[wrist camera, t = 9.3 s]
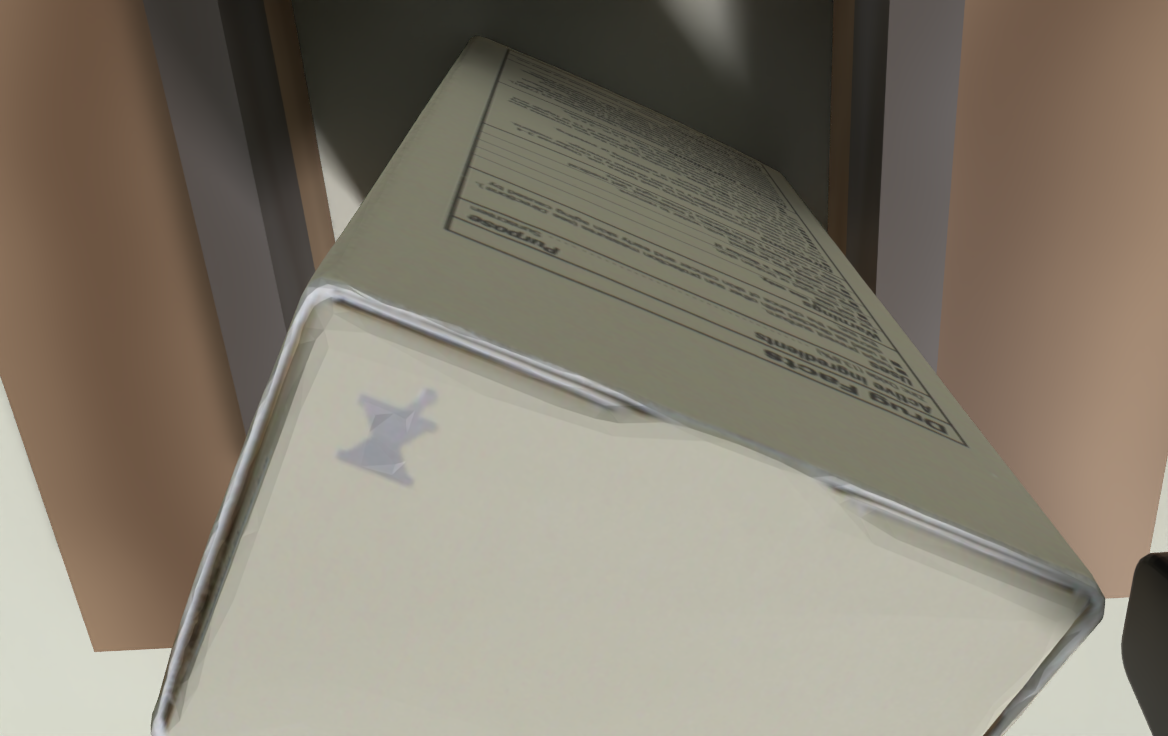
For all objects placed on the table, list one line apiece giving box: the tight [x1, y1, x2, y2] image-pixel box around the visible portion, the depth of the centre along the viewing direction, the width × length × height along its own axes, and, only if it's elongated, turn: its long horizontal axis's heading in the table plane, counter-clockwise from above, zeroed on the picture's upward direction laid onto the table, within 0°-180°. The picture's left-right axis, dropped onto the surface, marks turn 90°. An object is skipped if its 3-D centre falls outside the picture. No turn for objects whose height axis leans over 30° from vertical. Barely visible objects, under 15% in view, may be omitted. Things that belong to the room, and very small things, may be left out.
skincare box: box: [151, 36, 1105, 736], centre depth 13 cm, size 6×4×12 cm
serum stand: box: [0, 0, 1168, 652], centre depth 17 cm, size 21×16×4 cm
